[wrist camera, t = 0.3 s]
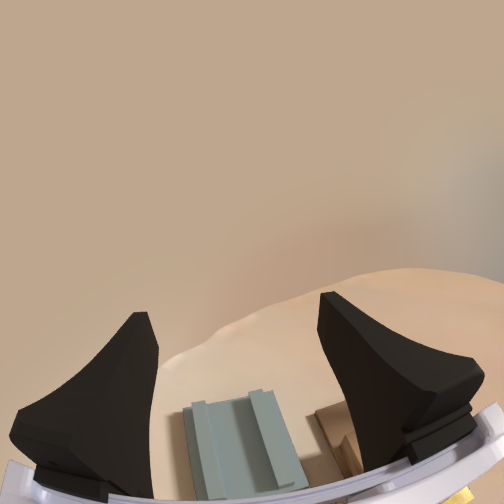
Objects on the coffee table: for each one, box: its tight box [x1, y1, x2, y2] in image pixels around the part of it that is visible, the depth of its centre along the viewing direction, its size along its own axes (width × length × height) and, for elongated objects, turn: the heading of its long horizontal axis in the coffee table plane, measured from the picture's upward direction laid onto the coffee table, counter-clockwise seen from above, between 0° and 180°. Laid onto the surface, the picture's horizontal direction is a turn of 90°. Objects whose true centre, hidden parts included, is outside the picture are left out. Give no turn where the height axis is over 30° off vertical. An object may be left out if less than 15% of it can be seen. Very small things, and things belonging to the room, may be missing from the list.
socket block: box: [315, 400, 470, 490], centre depth 18 cm, size 20×9×4 cm, turn 14°
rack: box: [183, 389, 309, 501], centre depth 23 cm, size 12×10×3 cm
